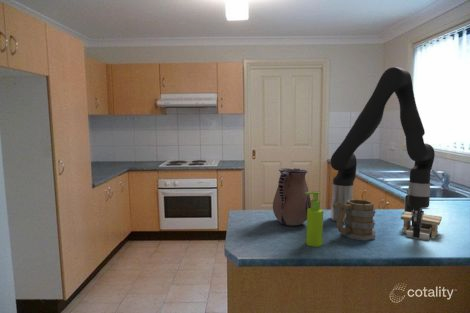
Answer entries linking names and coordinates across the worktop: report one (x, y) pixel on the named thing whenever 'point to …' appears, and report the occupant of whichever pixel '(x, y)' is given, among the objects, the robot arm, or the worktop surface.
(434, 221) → the small wooden table
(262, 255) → the worktop surface
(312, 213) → the soap dispenser
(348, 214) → the tankard
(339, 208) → the robot arm
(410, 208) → the supplement bottle
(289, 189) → the ceramic pitcher
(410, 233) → the white pull-out drawer
